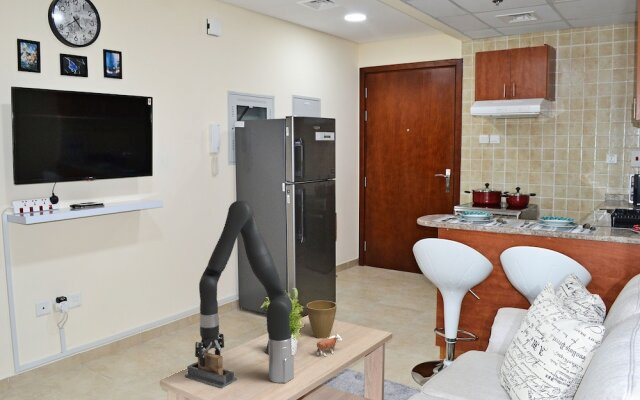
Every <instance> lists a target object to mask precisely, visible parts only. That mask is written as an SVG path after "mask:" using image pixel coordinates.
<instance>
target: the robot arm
mask: <svg viewBox="0 0 640 400" xmlns="http://www.w3.org/2000/svg"><path fill="white" fill-rule="evenodd" d="M227 211H228V212H227V215H226V219H225V222H224V226H223V229H222V231H221V233H220V237H219V239H218V240H217V242H216V245H215V246H214V248H213V251H212V253H211V254H210V258H209V260H208V262H207V265H206V267H205V270H204V271H203V273H202V274H201V278H200V279H199V283H198V284H199V285H198V288H199V289H198V290H199V300H200V303H199V335H200V338H201V340H200V342H198V341H196V342H195V347H194V348H195V349H194V356H195V357H196V358H197V359H198V358H199V360H200V366H201V367H205V356H206V353H209V351H210V350H211V349H214V354H215V355H219V356H221V351H222V349H224V348H225V339H224V338H225V337H224V336H225V335H224V333H220V318H219V305H218V304H219V303H218V300H217V299H218V283H219V281H220V279H221V276H222V274H223V272H224V271H225V269H226V267H227V265H228V262H229V260H230V258H231V256H232V253H233V250H234V247H235V243H236V240H237V238H238V236H239V234H241V237H242V242H243V246H244V251H245V254H246V258H247V261H248V264H249V266H250V268H251V270H252V273H253V274H254V276H255V277H256V278H257V280H258V281H259V282H260V283H261V285H262V286H263V288H264V290H265V292H266V295H267V297H268V301H269V303H268V305H267V307H266V330H267V336H268V340H269V354H268V379H269V380H270V382H273V383H276V384H277V383H278V384H280V383H281V384H282V383H283V384H286V383H288V382H290V381H291V380H293V379H294V378H295V367H294V366H295V364H294V363H295V360H294V359H295V355H293V353H292V330H291V326H290V324H291V323H290V321H291V320H290V319H291V317H290V315H291V314H292V312H293V303H292V300H291V299H290V297H289V295H288V293H287V291H286V289H285V287H284V285H283V283H282V281H281V278H280V275H279V272H278V270H277V268H276V265H275V261H274V259H273V257H272V254H271V252H270V249H269V247H268V245H267V243H266V241H265V239H264V237H263V236H262V235H263V234H262V233H261V232H260V229H259V226H258V224H257V220H256V217H255V214H254V209H253V207H252V205H251V203H250V202H249V201H247V200H244V199H238V200H236V201H233V202H232V203H230V205H229V207H228V209H227ZM203 352H204V353H203ZM198 353H199V354H198ZM202 353H203V355H202Z"/></svg>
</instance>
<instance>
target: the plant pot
mask: <svg viewBox="0 0 640 400" xmlns="http://www.w3.org/2000/svg"><path fill="white" fill-rule="evenodd" d="M337 307H338V306H337V303H336V302H334V301H331V300H314V301H311V302H308V303H306V311H307V316H308V321H309V324H310V329H311V331H312V333H313V337H315V338H316V337H317V339H320V338H323V339H328V338H329V337H331V336H330V335H331V334H332V333H331V332H332V330H333V326H334V323H335V318H336V312H337ZM327 337H328V338H327Z"/></svg>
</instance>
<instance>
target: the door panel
mask: <svg viewBox="0 0 640 400" xmlns="http://www.w3.org/2000/svg"><path fill="white" fill-rule="evenodd" d="M203 353H204V352H203ZM203 353H202V355H203ZM198 354H199V352H198ZM197 362H198V368H199V369H203V370H206V371H210V372H213V373H217V374H220V375H223V369H224V366H223V365H224V364H223V356H222V355H220V356H219V355H215V353H211V352H208V353H206V356H205V367H201V366H200V360H199V358H198V357H197Z"/></svg>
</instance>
